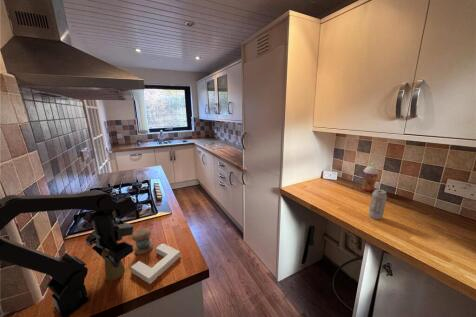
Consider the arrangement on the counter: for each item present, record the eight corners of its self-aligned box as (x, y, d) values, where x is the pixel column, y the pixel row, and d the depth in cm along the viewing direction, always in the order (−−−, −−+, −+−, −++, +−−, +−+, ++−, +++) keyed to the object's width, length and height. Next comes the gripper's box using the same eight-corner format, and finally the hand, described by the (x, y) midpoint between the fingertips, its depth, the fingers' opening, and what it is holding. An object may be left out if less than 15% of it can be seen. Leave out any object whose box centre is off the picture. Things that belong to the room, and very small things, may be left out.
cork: (121, 263, 74) (115, 239, 71) (127, 272, 70) (122, 246, 67) (103, 274, 69) (96, 248, 66) (109, 283, 66) (102, 257, 63)
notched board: (150, 284, 65) (149, 278, 65) (131, 272, 70) (130, 267, 69) (180, 256, 77) (179, 251, 76) (163, 248, 82) (162, 243, 81)
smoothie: (357, 188, 136) (361, 161, 131) (366, 186, 138) (371, 160, 133) (368, 193, 128) (373, 164, 123) (377, 191, 131) (383, 163, 125)
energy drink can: (384, 219, 100) (390, 192, 96) (376, 221, 98) (381, 194, 94) (373, 213, 105) (379, 188, 101) (365, 215, 104) (370, 189, 100)
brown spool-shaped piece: (141, 257, 77) (139, 241, 75) (131, 250, 80) (128, 235, 78) (156, 246, 83) (154, 231, 81) (145, 240, 86) (143, 226, 84)
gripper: (144, 221, 67) (150, 258, 71) (113, 208, 76) (120, 242, 80) (110, 240, 58) (120, 282, 62) (80, 223, 66) (90, 260, 71)
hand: (113, 264), depth 69 cm, fingers closed on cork, 4 cm apart
